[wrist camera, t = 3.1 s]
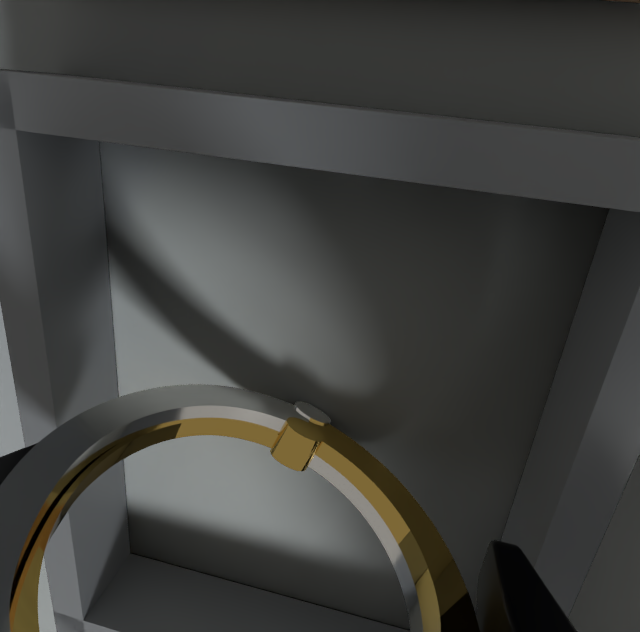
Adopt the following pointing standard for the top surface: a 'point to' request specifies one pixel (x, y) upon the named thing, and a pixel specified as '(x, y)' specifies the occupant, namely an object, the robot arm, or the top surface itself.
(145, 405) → the ring
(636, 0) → the pad
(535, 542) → the bin
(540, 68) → the top surface
